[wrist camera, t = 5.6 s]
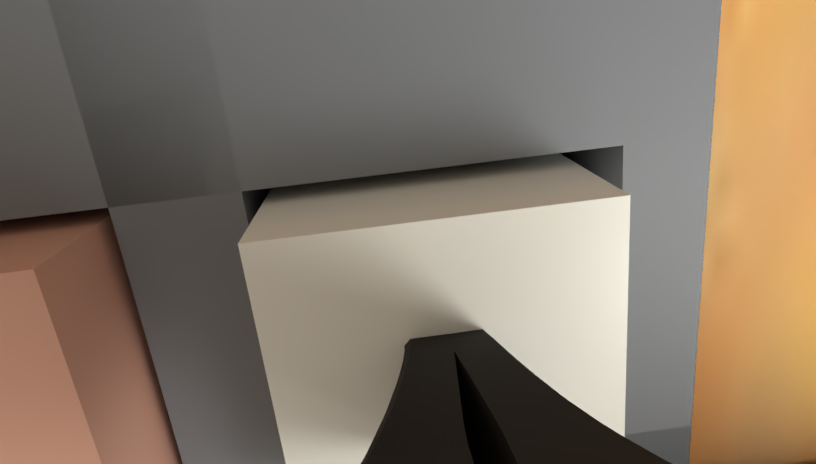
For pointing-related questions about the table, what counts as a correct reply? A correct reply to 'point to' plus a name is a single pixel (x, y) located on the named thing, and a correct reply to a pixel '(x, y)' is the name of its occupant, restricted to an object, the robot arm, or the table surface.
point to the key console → (352, 155)
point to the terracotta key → (75, 349)
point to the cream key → (435, 288)
